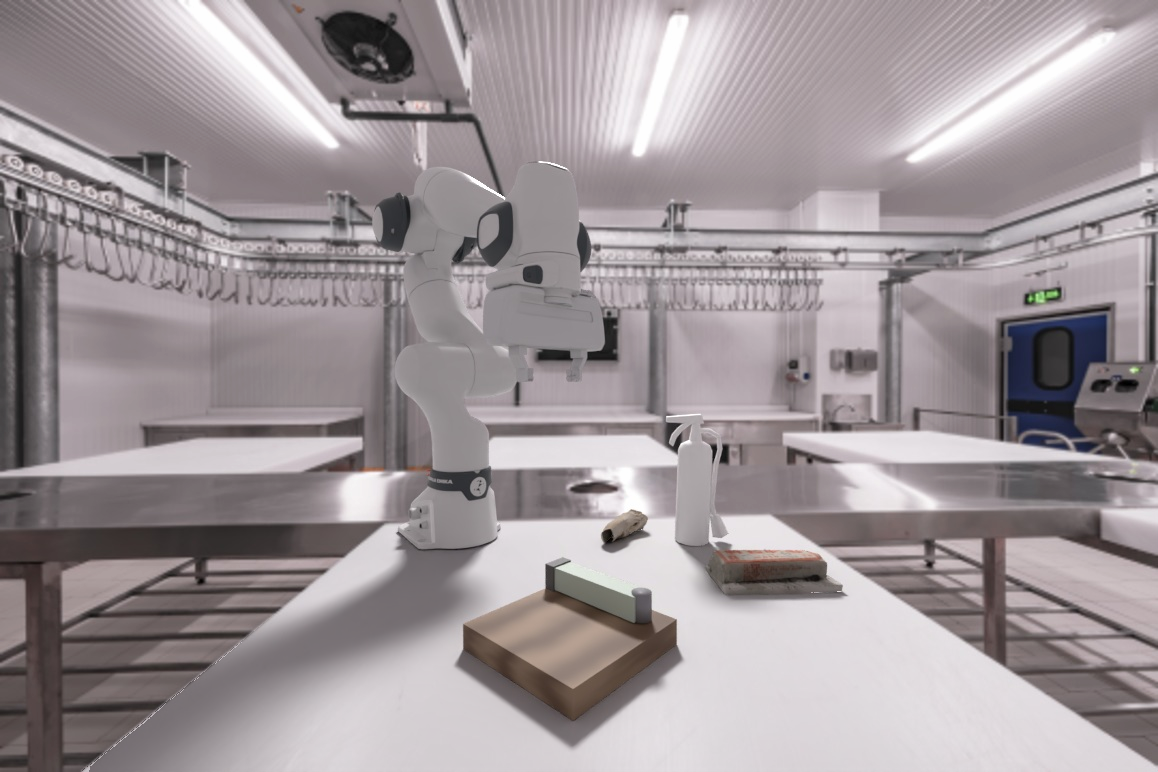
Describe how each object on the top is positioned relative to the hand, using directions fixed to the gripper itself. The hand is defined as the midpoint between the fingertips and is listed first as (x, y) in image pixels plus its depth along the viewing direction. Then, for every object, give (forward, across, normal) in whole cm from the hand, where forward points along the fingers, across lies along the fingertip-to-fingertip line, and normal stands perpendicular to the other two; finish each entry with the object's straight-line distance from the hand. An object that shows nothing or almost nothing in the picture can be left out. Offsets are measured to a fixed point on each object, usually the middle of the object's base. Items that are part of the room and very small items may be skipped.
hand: (550, 381), depth 68 cm
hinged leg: (+29, -1, +7) cm, 30 cm away
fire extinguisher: (+32, -39, 0) cm, 50 cm away
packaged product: (+33, -30, +18) cm, 48 cm away
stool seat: (+32, +5, +8) cm, 33 cm away
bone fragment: (+32, -32, -12) cm, 46 cm away
